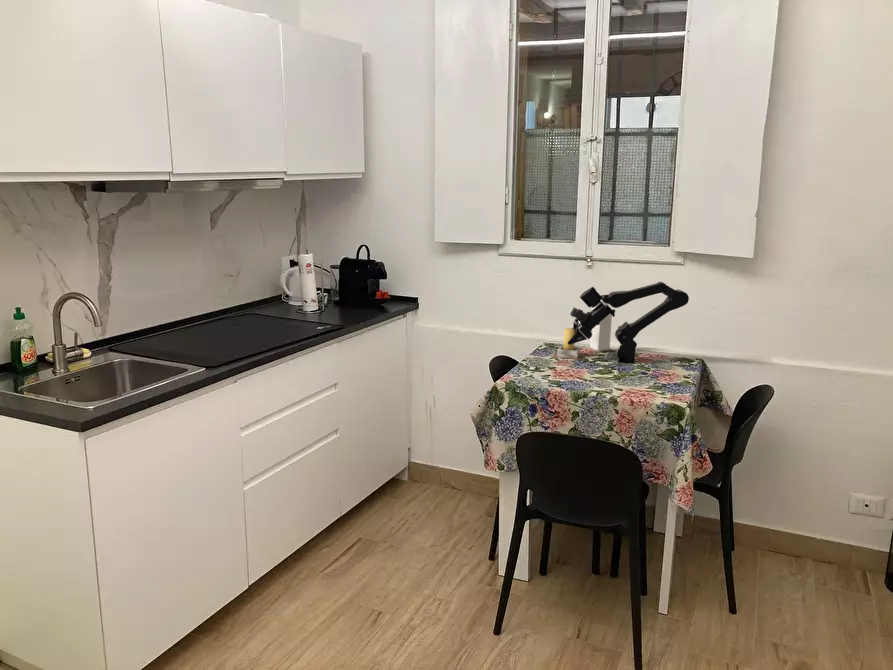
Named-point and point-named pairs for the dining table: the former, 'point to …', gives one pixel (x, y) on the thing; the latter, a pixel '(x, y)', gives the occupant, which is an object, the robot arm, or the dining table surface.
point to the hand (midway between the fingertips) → (567, 341)
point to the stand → (568, 354)
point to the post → (568, 338)
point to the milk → (601, 333)
